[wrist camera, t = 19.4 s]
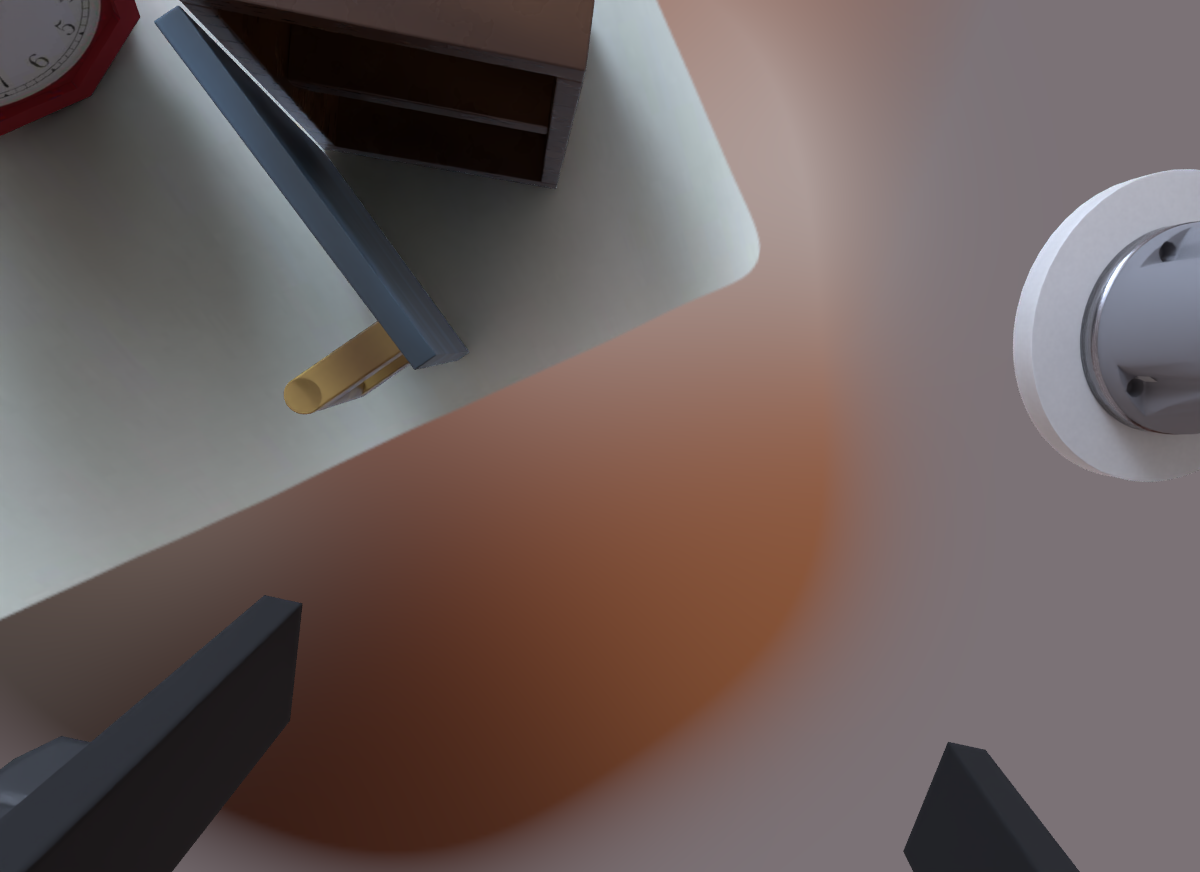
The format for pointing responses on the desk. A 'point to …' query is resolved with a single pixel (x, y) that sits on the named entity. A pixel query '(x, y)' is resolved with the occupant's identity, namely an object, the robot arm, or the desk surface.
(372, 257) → the door
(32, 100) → the alarm clock
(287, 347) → the desk surface
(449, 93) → the cupboard
